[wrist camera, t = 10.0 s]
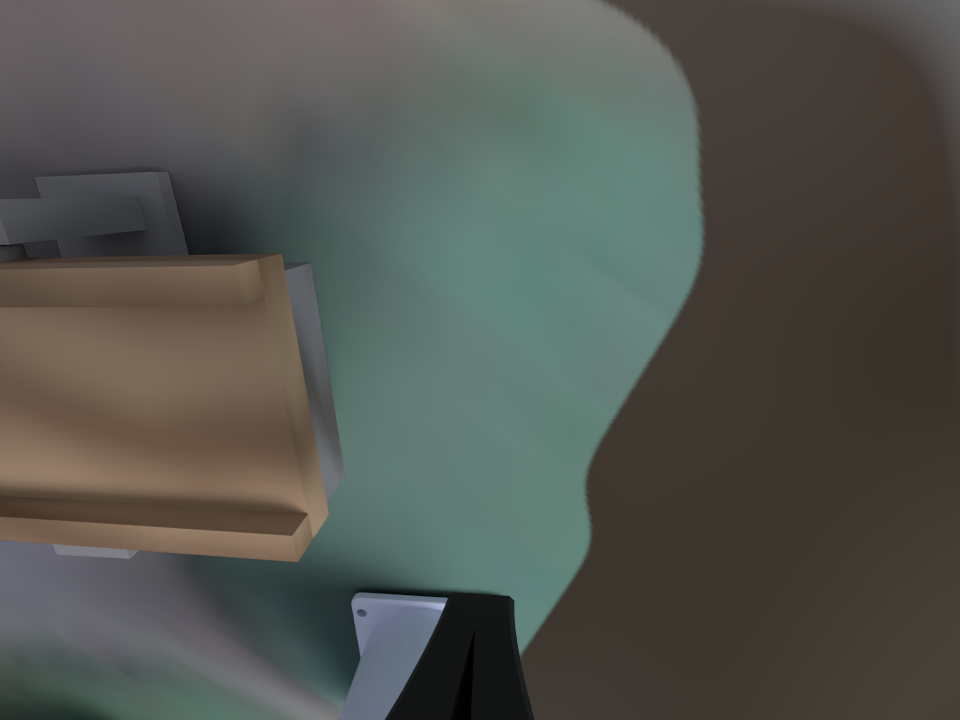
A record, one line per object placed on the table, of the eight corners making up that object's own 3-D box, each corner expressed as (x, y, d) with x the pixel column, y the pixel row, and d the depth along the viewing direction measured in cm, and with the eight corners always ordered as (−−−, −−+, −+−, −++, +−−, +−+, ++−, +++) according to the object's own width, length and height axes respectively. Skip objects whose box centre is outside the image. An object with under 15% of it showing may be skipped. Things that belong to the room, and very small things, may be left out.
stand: (247, 486, 22) (161, 577, 17) (152, 483, 23) (40, 569, 18) (168, 171, 17) (13, 165, 12) (49, 177, 18) (-147, 173, 13)
